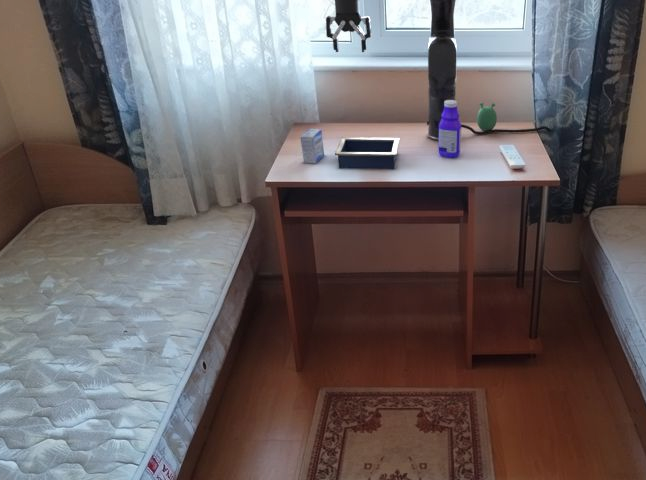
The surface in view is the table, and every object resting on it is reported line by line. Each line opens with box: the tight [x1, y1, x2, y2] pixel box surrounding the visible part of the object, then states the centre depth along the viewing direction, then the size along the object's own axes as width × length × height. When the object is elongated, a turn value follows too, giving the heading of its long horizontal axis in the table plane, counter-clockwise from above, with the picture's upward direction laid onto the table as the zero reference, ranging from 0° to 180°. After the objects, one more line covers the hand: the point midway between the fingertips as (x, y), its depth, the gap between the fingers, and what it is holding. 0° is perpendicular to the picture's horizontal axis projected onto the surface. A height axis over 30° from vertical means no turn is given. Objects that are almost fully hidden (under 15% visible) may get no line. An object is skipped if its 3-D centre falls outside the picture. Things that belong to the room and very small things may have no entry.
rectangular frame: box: [334, 137, 400, 170], centre depth 213 cm, size 19×15×5 cm
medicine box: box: [300, 128, 325, 165], centre depth 214 cm, size 8×4×9 cm, turn 168°
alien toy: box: [476, 101, 498, 132], centre depth 237 cm, size 7×8×10 cm
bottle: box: [437, 99, 462, 159], centre depth 214 cm, size 7×6×17 cm
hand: (350, 51), depth 217 cm, fingers open, 8 cm apart
